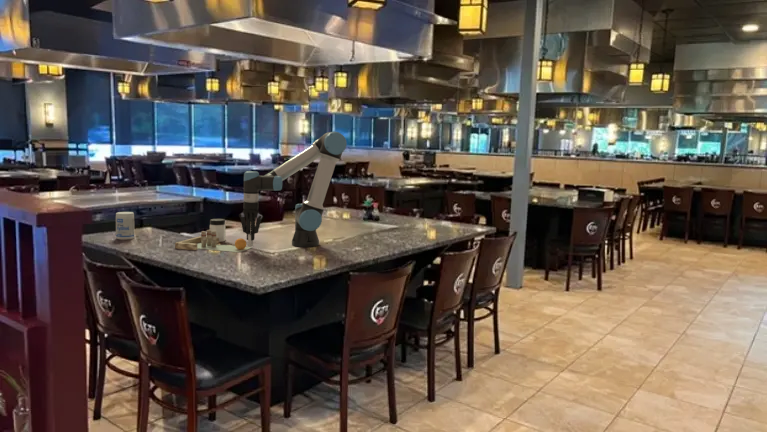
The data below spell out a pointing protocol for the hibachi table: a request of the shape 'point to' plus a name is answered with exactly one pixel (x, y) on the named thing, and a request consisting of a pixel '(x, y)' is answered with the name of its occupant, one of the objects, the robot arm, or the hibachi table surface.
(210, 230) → the pin rear right
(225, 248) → the pale green board
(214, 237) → the pin front
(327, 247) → the hibachi table surface
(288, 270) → the hibachi table surface
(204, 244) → the pin rear left
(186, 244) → the backstop
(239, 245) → the ball
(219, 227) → the jar
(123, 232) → the supplement tub
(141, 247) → the hibachi table surface
